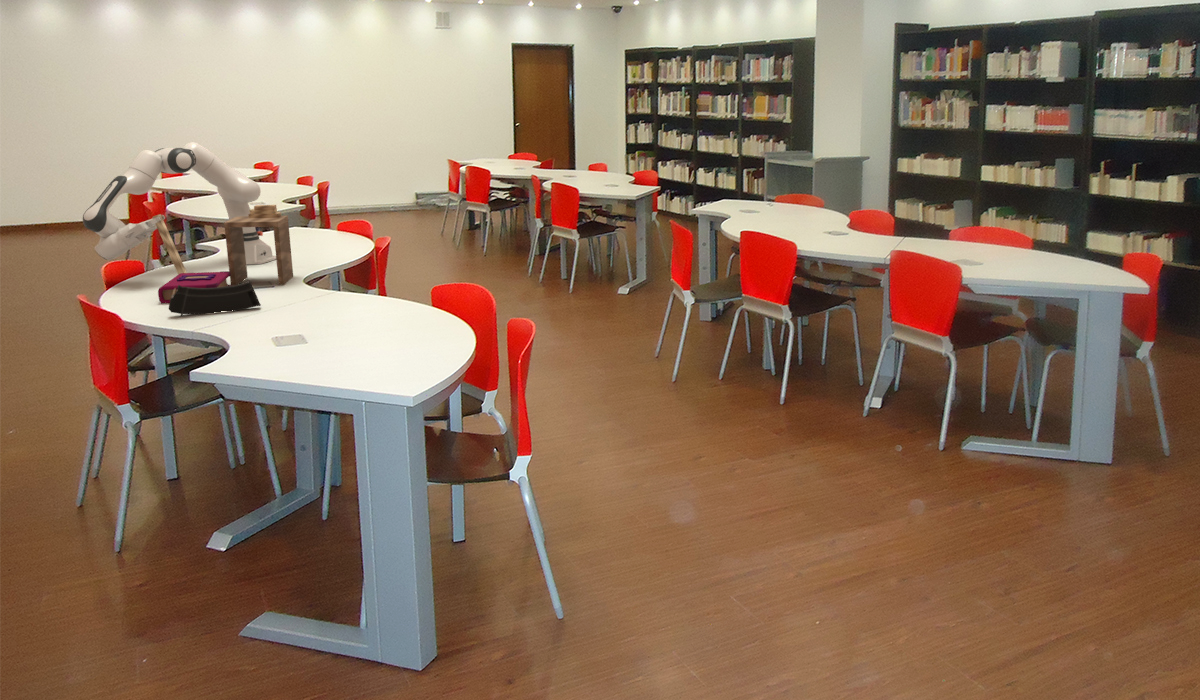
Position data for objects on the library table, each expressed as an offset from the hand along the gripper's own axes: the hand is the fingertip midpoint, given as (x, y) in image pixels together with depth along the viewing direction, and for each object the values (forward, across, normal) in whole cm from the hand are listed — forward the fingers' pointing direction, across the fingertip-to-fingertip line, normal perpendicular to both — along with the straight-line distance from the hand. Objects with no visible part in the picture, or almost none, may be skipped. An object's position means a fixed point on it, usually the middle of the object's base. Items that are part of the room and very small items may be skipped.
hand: (161, 217), depth 392 cm
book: (+2, -25, +34) cm, 42 cm away
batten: (-6, 0, +12) cm, 13 cm away
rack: (+19, 0, +42) cm, 46 cm away
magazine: (+16, -58, +42) cm, 73 cm away
